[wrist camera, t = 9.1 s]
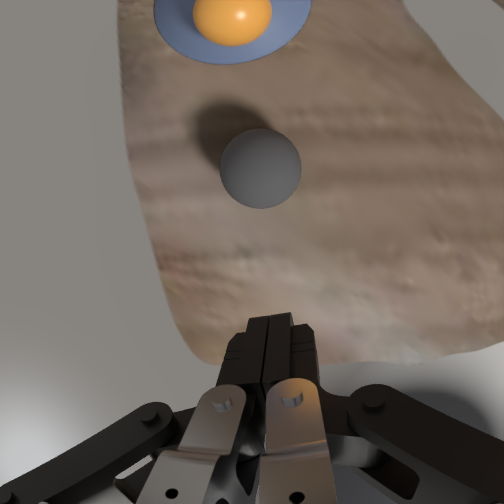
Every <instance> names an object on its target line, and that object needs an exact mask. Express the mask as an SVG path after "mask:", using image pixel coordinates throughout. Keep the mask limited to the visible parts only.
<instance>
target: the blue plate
mask: <svg viewBox="0 0 504 504" xmlns="http://www.w3.org/2000/svg"><path fill="white" fill-rule="evenodd" d="M195 1H196V0H155V7H154V14H155V21H156V24H157V27H158V30H159V32H160V34H161V35H162V37H163V38H164V40H165V41H166V42H167V43H168V44H169V45H170V46H171V47H172V48H174V49H175V50H176V51H178V52H179V53H181V54H183V55H184V56H186V57H189V58H191V59H194V60H197V61H200V62H204V63H211V64H238V63H243V62H248V61H252V60H255V59H259V58H261V57H264V56H266V55H269V54H270V53H272V52H274V51H276V50H278V49H279V48H281V47H282V46H284V45H285V44H287V43H288V42H289V41H290V40H291V39H292V38H293V37H294V36H295V35H296V34H297V33H298V32H299V31H300V29H301V28H302V26H303V25H304V23H305V21H306V19H307V17H308V15H309V11H310V7H311V0H270V2H271V6H272V17H271V21H270V24H269V26H268V28H267V29H266V31H265V32H264V33H263V34H262V35H261V36H260V37H259V38H257V39H256V40H254V41H253V42H251V43H248V44H245V45H242V46H235V47H228V46H221V45H218V44H215V43H213V42H211V41H209V40H207V39H206V38H205V37H204V36H203V35H202V34H201V33H200V32H199V31H198V29H197V28H196V26H195V23H194V20H193V7H194V4H195Z"/></svg>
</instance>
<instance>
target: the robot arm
mask: <svg viewBox="0 0 504 504" xmlns="http://www.w3.org/2000/svg"><path fill="white" fill-rule="evenodd" d="M265 434H266V450H265V447H264V442H265ZM147 455H150V457H151V458H152V459H153V460H152V461H150V462H149V463H147V464H146V465H144V466H143V467H142V468H140V469H138V470H137V471H135V472H134V473H132V474H131V475H129V476H127V477H126V478H124V479H116V478H115V477H116V476H117V475H118V474H120V473H121V472H123V471H124V470H126V469H128V468H129V467H131V466H132V465H134V464H135V463H137V462H138V461H140V460H141V459H143V458H145V457H146V456H147ZM331 464H334V465H342V466H349V467H350V469H351V470H352V471H353V472H354V473H355V474H356V475H358V476H359V477H360V478H362V479H363V480H365V481H366V482H367V483H369V484H370V485H372V486H373V487H374V488H376V489H377V490H379V491H380V492H382V493H383V494H385V495H386V496H387V497H389V498H390V499H392V500H393V501H395V502H396V503H398V504H504V441H502V440H500V439H498V438H495V437H493V436H491V435H489V434H486V433H484V432H482V431H480V430H478V429H475V428H473V427H471V426H469V425H467V424H465V423H462V422H460V421H458V420H456V419H454V418H452V417H450V416H447V415H445V414H444V413H441V412H439V411H437V410H435V409H433V408H431V407H429V406H427V405H425V404H423V403H421V402H419V401H417V400H415V399H413V398H411V397H409V396H407V395H405V394H403V393H401V392H399V391H398V390H396V389H394V388H392V387H389V386H387V385H382V384H372V385H367V386H364V387H361V388H359V389H357V390H356V391H355V392H354V393H352V394H351V396H350V397H345V396H337V395H333V394H330V393H328V392H326V391H325V390H324V389H322V388H321V386H320V376H319V365H318V357H317V350H316V344H315V337H314V331H313V330H312V329H311V328H310V326H309V325H308V324H301V325H294V324H293V319H292V314H291V312H289V313H282V314H275V315H271V316H261V317H254V318H249V320H248V325H247V329H246V332H242V333H236V335H235V336H234V337H233V338H232V339H231V340H230V341H229V343H228V346H227V349H226V353H225V356H224V361H223V363H222V366H221V370H220V373H219V377H218V380H217V383H216V386H215V387H214V388H212V389H210V390H208V391H207V392H206V393H204V394H203V395H202V397H201V398H200V400H199V402H198V404H197V406H196V407H194V408H190V409H186V410H183V411H178V412H174V413H173V412H172V410H171V408H170V407H169V406H168V405H167V404H165V403H162V402H152V403H147V404H145V405H142V406H141V407H139V408H137V409H136V410H134V411H133V412H131V413H129V414H128V415H126V416H125V417H123V418H122V419H120V420H118V421H117V422H115V423H113V424H112V425H110V426H109V427H107V428H105V429H103V430H102V431H100V432H98V433H97V434H95V435H94V436H92V437H90V438H88V439H87V440H85V441H83V442H82V443H80V444H78V445H77V446H75V447H73V448H71V449H69V450H68V451H66V452H64V453H62V454H61V455H59V456H57V457H55V458H53V459H52V460H50V461H48V462H46V463H44V464H42V465H41V466H39V467H37V468H35V469H33V470H31V471H29V472H27V473H26V474H24V475H22V476H20V477H18V478H16V479H14V480H12V481H10V482H8V483H6V484H4V485H2V486H1V487H0V504H255V502H256V495H257V491H258V486H259V504H337V499H336V493H335V487H334V480H333V473H332V468H331Z"/></svg>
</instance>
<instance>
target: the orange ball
mask: <svg viewBox="0 0 504 504" xmlns="http://www.w3.org/2000/svg"><path fill="white" fill-rule="evenodd" d="M271 17H272V6H271V2H270V0H196V1H195V4H194V7H193V20H194V23H195V26H196V28H197V29H198V31H199V32H200V33H201V34H202V35H203V36H204V37H205V38H206V39H207V40H209V41H211V42H213V43H215V44H218V45H221V46H228V47H235V46H242V45H245V44H248V43H251V42H253V41H254V40H256V39H257V38H259V37H260V36H261V35H262V34H263V33H264V32H265V31H266V29H267V28H268V26H269V24H270V21H271Z"/></svg>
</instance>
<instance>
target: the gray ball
mask: <svg viewBox="0 0 504 504" xmlns="http://www.w3.org/2000/svg"><path fill="white" fill-rule="evenodd" d="M220 176H221V180H222V183H223V185H224V187H225V189H226V191H227V192H228V193H229V194H230V196H231V197H232V198H233V199H235V200H236V201H237V202H239V203H241V204H243V205H245V206H248V207H251V208H257V209H264V208H270V207H274V206H277V205H279V204H281V203H282V202H284V201H285V200H287V199H288V198H289V197H290V196H291V195H292V194H293V192H294V191H295V189H296V187H297V185H298V183H299V180H300V177H301V160H300V157H299V154H298V152H297V150H296V148H295V146H294V145H293V144H292V142H291V141H290V140H289V139H288V138H286V137H285V136H284V135H282V134H280V133H279V132H277V131H274V130H270V129H265V128H256V129H250V130H247V131H244V132H242V133H240V134H239V135H237V136H236V137H234V138H233V139H232V140H231V141H230V142H229V143H228V145H227V146H226V148H225V149H224V151H223V154H222V157H221V160H220Z"/></svg>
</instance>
